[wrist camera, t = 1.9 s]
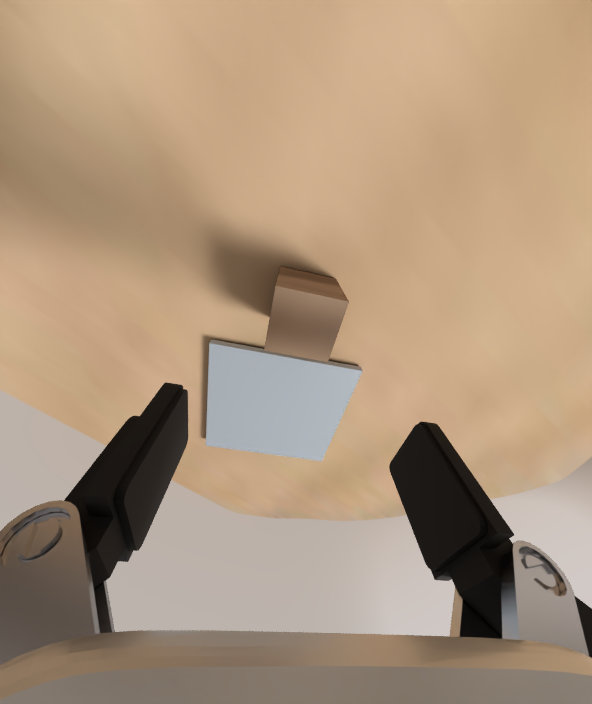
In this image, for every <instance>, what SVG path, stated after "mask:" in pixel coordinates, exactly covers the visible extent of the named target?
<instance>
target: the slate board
mask: <svg viewBox="0 0 592 704" xmlns="http://www.w3.org/2000/svg"><path fill="white" fill-rule="evenodd" d="M361 373H362V369H361V367H359V366H354V365H348V364H343V363H338V362H332V361H328V362H325V361H319V360H314V359H309V358H303V357H298V356H292V355H287V354H281V353H276V352H271V351H265V350H264V349H262V348H256V347H251V346H246V345H240V344H235V343H229V342H224V341H218V340H213V339H212V340H211V341H210V343H209V368H208V397H207V426H206V446H212V447H220V448H227V449H235V450H242V451H250V452H257V453H265V454H272V455H280V456H287V457H295V458H302V459H310V460H317V461H322V459H323V457H324V455H325V453H326V451H327V448H328V446H329V444H330V442H331V440H332V437H333V435H334V433H335V431H336V428H337V426H338V424H339V422H340V420H341V417H342V415H343V413H344V411H345V409H346V406H347V404H348V402H349V400H350V397H351V395H352V393H353V391H354V389H355V386H356V384H357V382H358V380H359V378H360V375H361Z"/></svg>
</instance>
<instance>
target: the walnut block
mask: <svg viewBox="0 0 592 704" xmlns="http://www.w3.org/2000/svg"><path fill="white" fill-rule="evenodd" d="M348 303H349V301H348V299H347V297H346V296H345V294H344V292H343V290H342V289H341V287H340V285H339V283H338V282H337V280H336V279H335V278H331V277H327V276H322V275H318V274H313V273H309V272H305V271H300V270H296V269H291V268H287V267H283V266H280V269H279V274H278V278H277V282H276V286H275V291H274V297H273V303H272V308H271V314H270V320H269V325H268V331H267V337H266V343H265V348H264V350H265V351H271V352H276V353H281V354H287V355H292V356H298V357H303V358H309V359H314V360H319V361H325V362H328V360H329V357H330V354H331V351H332V348H333V346H334V343H335V340H336V337H337V334H338V331H339V328H340V326H341V323H342V320H343V317H344V314H345V311H346V308H347V306H348Z"/></svg>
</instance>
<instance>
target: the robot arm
mask: <svg viewBox="0 0 592 704" xmlns="http://www.w3.org/2000/svg"><path fill="white" fill-rule="evenodd" d="M187 441H188V392H187V390H185V389H183V386H182V385H178V384H171V383H164V385H163V386H162V387H161V388H160V390H159V391H158V392H157V394H156V395H155V397H154V398H153V399H152V401H151V402H150V403H149V405H148V406H147V407H146V409H145V410H144V411H143V413H142V414H141V415H140V416H132V417H130V418H129V419H128V420H127V421H126V422H125V424H124V425H123V426H122V427H121V429H120V430H119V431H118V433H117V434H116V435H115V436H114V438H113V439H112V440H111V441H110V443H109V444H108V445H107V447H106V448H105V449H104V451H103V452H102V453H101V454H100V456H99V457H98V458H97V459H96V461H95V462H94V463H93V464H92V466H91V467H90V468H89V469H88V471H87V472H86V473H85V475H84V476H83V477H82V479H81V480H80V481H79V482H78V483H77V485H76V486H75V487H74V489H73V490H72V491H71V492H70V494H69V495H68V496H67V497H66V499H65V500H64V501H60V500H59V501H51V502H47V503H43V504H40V505H37V506H35V507H33V508H31V509H29V510H27V511H25V512H23V513H22V514H20V515H19V516H17V517H16V518H15V519H13V520H12V521H11V522H9V523H8V524H7V525H6V526H5V527H4V528H3V529H2V530H1V531H0V704H592V609H591V608H590V607H588V606H587V605H586V604H585V603H583V602H582V601H580V600H579V599H578V598H577V597H575V596H574V593H573V590H572V587H571V585H570V583H569V581H568V579H567V578H566V576H565V574H564V573H563V572H562V571H561V569H560V568H559V567H558V566H557V564H556V563H555V562H554V561H553V560H552V559H551V558H550V557H549V556H548V555H547V554H545V553H544V552H543V551H541V550H540V549H539V548H537V547H536V546H534V545H532V544H531V543H528V542H525V541H516V542H514V543H513V544H512V542H511V541H510V539H509V538H510V537H512V536H513V535H514V534H513V532H512V531H511V529H510V528H509V526H508V525H507V523H506V522H505V521H504V519H503V518H502V516H501V515H500V514H499V512H498V511H497V509H496V508H495V506H494V505H493V503H492V502H491V500H490V499H489V498H488V496H487V495H486V493H485V492H484V490H483V489H482V488H481V486H480V485H479V483H478V482H477V480H476V479H475V478H474V476H473V475H472V473H471V472H470V470H469V469H468V467H467V466H466V465H465V463H464V462H463V460H462V459H461V457H460V456H459V455H458V453H457V452H456V450H455V449H454V447H453V446H452V444H451V443H450V442H449V440H448V439H447V437H446V436H445V434H444V433H443V432H442V430H441V429H440V427H439V426H438V425H437V424H435V423H428V422H420V423H419V424H417V425H415V427H414V428H413V430H412V431H411V433H410V434H409V436H408V437H407V439H406V440H405V442H404V443H403V445H402V446H401V448H400V449H399V451H398V452H397V454H396V455H395V457H394V458H393V460H392V461H391V463H390V472H391V475H392V478H393V480H394V483H395V485H396V488H397V491H398V493H399V496H400V498H401V501H402V504H403V506H404V509H405V511H406V514H407V516H408V519H409V522H410V524H411V527H412V529H413V532H414V535H415V537H416V540H417V542H418V545H419V548H420V550H421V553H422V555H423V558H424V560H425V563H426V565H427V566H428V568H430V569H431V571H432V574H433V576H434V579H435V580H445V581H448V580H451V579H452V580H453V582H454V585H455V595H454V603H453V612H452V620H451V629H450V637H444V636H413V635H379V634H341V633H301V632H254V631H126V632H115V630H114V624H113V618H112V613H111V607H110V601H109V595H108V590H107V584H106V580H107V579H108V578H109V577H110V576H111V574H112V572H113V570H114V568H115V566H116V564H117V562H118V561H125V562H126V561H127V562H128V561H129V558H130V556H131V554H132V552H133V550H136V551H137V550H139V549H140V547H141V546H142V544H143V541H144V539H145V537H146V535H147V533H148V530H149V528H150V526H151V524H152V522H153V519H154V517H155V514H156V513H157V510H158V508H159V506H160V504H161V501H162V499H163V497H164V495H165V492H166V490H167V488H168V486H169V483H170V481H171V479H172V477H173V475H174V472H175V470H176V468H177V466H178V463H179V461H180V459H181V457H182V454H183V452H184V450H185V448H186V445H187Z"/></svg>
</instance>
